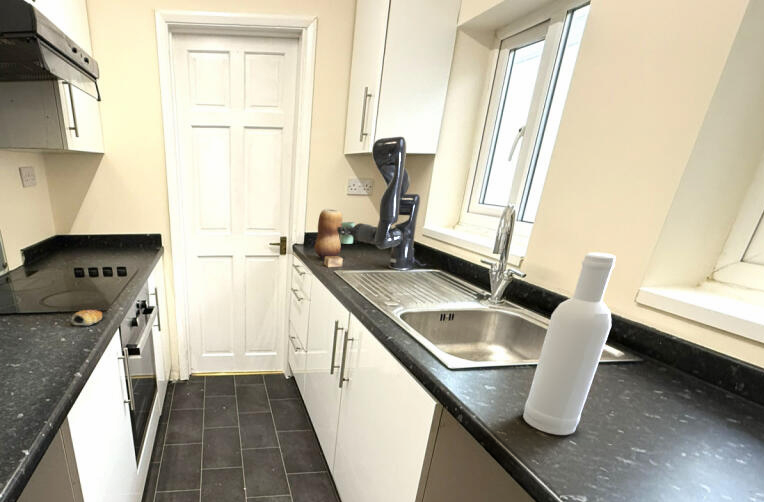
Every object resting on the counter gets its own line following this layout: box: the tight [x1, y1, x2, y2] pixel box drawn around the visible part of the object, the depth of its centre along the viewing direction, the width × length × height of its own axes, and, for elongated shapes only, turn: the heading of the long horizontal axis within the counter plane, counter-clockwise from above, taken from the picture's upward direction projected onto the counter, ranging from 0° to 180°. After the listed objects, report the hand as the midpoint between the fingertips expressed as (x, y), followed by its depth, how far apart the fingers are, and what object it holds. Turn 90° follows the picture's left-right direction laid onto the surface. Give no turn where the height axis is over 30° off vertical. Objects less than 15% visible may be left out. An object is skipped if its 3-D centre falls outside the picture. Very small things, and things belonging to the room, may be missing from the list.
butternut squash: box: [314, 208, 343, 261], centre depth 210 cm, size 14×13×25 cm
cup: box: [339, 221, 356, 245], centre depth 189 cm, size 6×6×9 cm
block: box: [323, 255, 344, 268], centre depth 199 cm, size 7×6×4 cm
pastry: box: [70, 309, 103, 327], centre depth 123 cm, size 9×7×4 cm
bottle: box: [522, 252, 617, 436], centre depth 68 cm, size 8×8×30 cm
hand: (344, 228), depth 190 cm, fingers closed on cup, 6 cm apart
